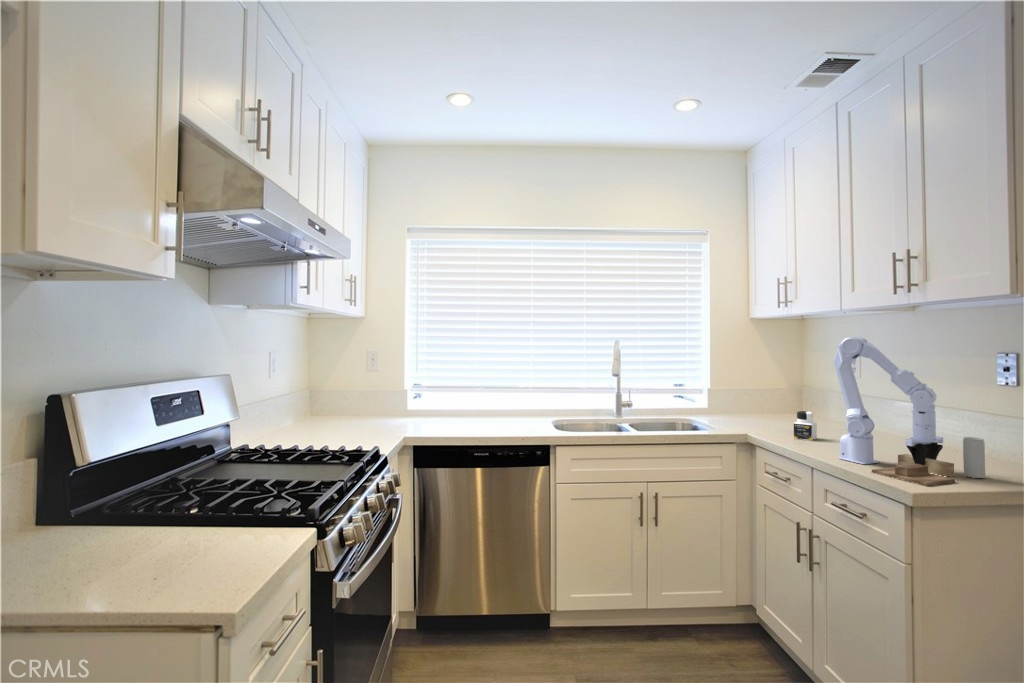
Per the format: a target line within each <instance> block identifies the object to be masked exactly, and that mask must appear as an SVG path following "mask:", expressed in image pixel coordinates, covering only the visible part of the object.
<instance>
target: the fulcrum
mask: <svg viewBox="0 0 1024 683" xmlns="http://www.w3.org/2000/svg"><path fill="white" fill-rule="evenodd" d="M872 472H873V473H872ZM871 473H872V474H875V473H877V474H876V475H879V474H881V475H880V476H883V475H885V476H884V477H887V476H889V477H888V478H891V477H894V478H893V479H895V478H898V479H897V480H899V479H903V480H906V481H905V482H907V481H910V482H909V483H911V482H914V483H913V484H915V483H918V484H917V485H919V484H921V485H920V486H923V485H925V487H930V486H929V485H932V486H936V485H935V484H940V485H944V484H943V483H947V484H952V483H951V482H954V483H956V479H955V478H953V477H944V476H939V475H935V474H930V473H928V466H925V465H920V464H908V465H899V466H898V465H895V466H891V467H883V468H873V469H871ZM903 480H902V481H903Z"/></svg>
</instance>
